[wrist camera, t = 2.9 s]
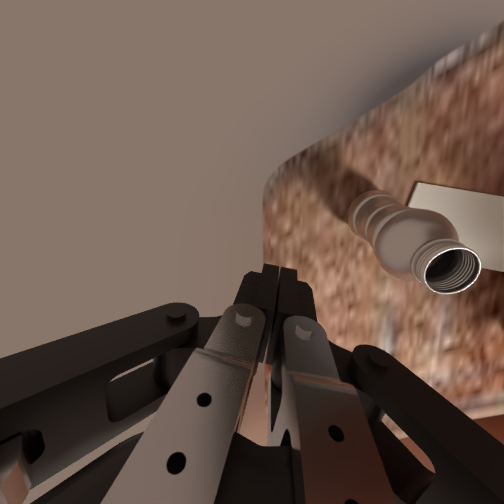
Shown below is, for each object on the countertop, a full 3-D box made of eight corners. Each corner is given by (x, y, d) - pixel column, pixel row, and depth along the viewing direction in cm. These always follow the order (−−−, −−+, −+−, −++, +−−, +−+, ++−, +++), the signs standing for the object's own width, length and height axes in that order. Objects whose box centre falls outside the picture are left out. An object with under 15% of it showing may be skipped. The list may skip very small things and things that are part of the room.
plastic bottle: (400, 194, 34) (532, 238, 15) (379, 238, 36) (470, 322, 18) (354, 182, 34) (430, 212, 16) (337, 227, 37) (384, 298, 18)
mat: (568, 207, 31) (571, 208, 31) (523, 275, 35) (525, 276, 35) (417, 182, 33) (418, 182, 32) (389, 249, 37) (390, 250, 36)
